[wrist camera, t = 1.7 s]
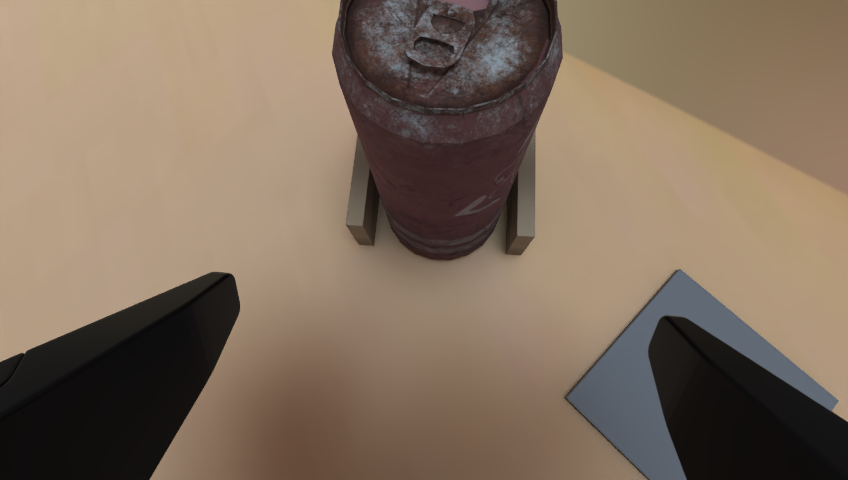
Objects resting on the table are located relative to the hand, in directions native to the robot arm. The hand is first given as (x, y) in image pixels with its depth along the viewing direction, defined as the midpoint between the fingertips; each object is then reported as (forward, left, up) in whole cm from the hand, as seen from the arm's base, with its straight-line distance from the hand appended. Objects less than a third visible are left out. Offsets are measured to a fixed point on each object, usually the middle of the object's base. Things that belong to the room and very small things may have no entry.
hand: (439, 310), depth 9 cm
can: (+5, +5, -14) cm, 15 cm away
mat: (+7, -11, -13) cm, 18 cm away
